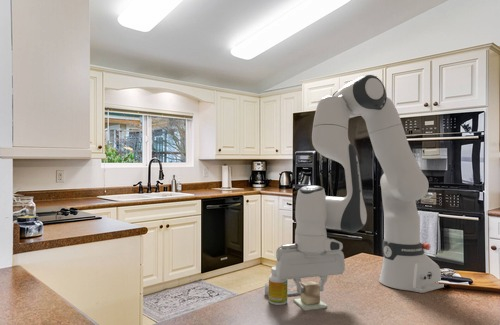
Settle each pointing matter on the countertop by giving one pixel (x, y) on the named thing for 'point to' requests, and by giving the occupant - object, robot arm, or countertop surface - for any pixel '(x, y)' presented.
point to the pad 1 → (292, 290)
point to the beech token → (310, 293)
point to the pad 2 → (310, 305)
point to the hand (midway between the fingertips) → (310, 291)
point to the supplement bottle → (277, 289)
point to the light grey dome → (267, 289)
